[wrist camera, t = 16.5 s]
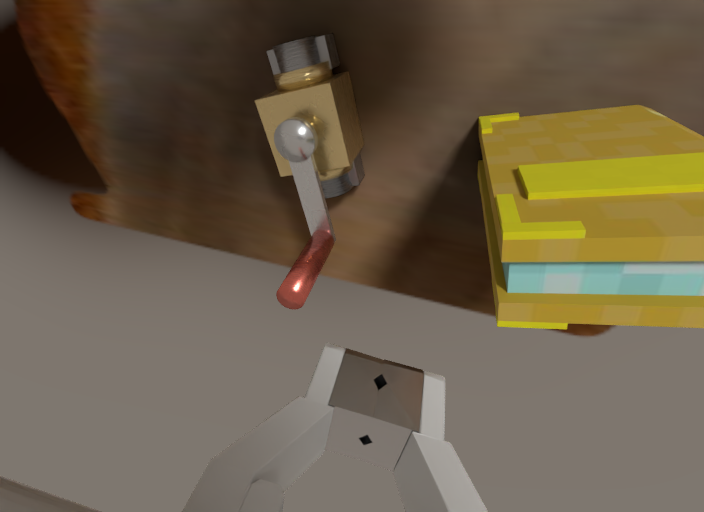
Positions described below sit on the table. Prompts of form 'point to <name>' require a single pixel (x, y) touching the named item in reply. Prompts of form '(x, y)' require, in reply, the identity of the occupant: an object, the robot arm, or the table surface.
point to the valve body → (316, 109)
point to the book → (594, 218)
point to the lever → (305, 209)
